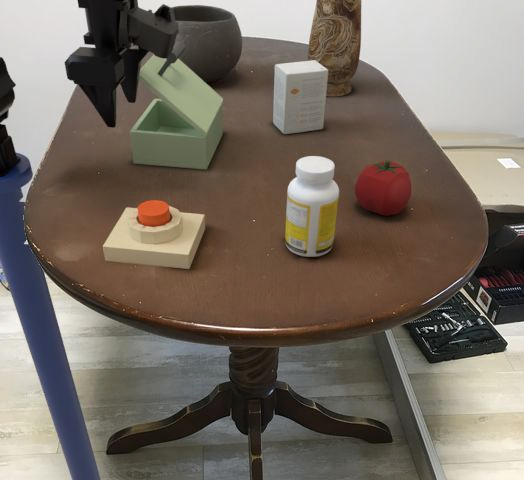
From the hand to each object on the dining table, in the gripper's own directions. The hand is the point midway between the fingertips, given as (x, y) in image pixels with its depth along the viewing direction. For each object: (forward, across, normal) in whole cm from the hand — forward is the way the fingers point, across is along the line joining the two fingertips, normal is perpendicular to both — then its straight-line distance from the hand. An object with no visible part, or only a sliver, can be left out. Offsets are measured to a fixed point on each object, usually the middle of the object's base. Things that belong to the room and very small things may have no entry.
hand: (122, 114), depth 83 cm
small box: (+11, +28, -23) cm, 38 cm away
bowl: (+11, +50, 0) cm, 51 cm away
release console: (+11, -15, -8) cm, 20 cm away
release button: (+7, -15, -8) cm, 18 cm away
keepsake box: (+11, +15, -4) cm, 19 cm away
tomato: (+11, 0, -38) cm, 40 cm away
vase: (+11, +49, -28) cm, 58 cm away
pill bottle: (+11, -12, -28) cm, 32 cm away
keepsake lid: (+1, +15, -5) cm, 16 cm away
